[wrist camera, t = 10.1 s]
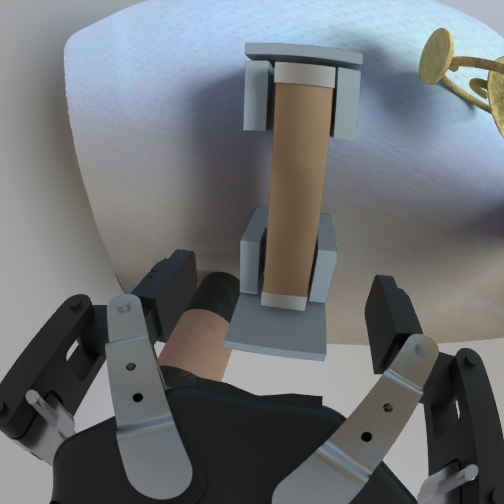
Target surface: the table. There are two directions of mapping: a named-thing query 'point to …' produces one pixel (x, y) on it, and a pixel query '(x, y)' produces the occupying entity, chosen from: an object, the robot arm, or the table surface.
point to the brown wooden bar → (296, 179)
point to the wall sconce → (441, 59)
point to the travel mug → (201, 333)
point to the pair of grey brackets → (255, 236)
